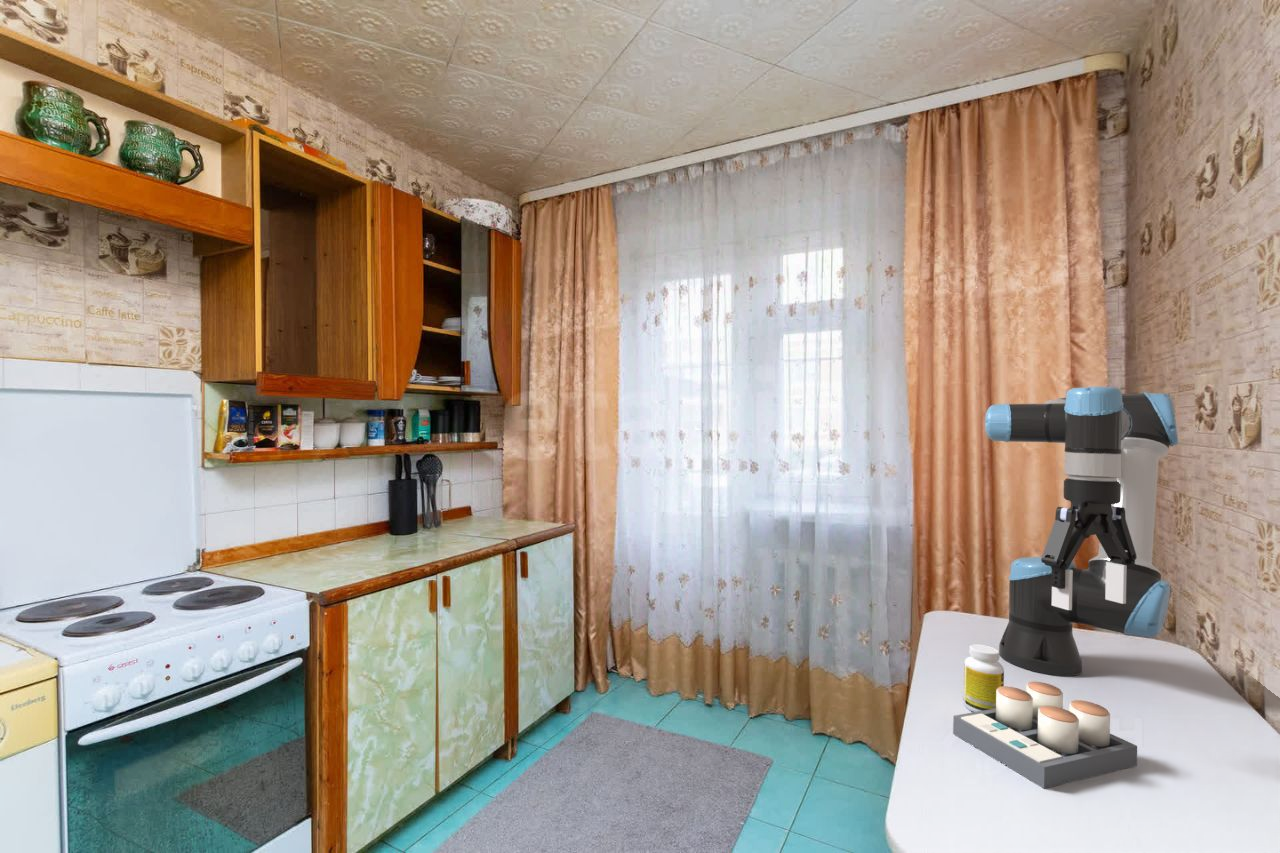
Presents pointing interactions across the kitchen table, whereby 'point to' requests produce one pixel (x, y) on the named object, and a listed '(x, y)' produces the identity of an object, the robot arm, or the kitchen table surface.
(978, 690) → the pill bottle
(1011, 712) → the button
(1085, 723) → the button
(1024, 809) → the kitchen table surface
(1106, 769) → the board
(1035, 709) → the button
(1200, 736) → the kitchen table surface
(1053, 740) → the button
